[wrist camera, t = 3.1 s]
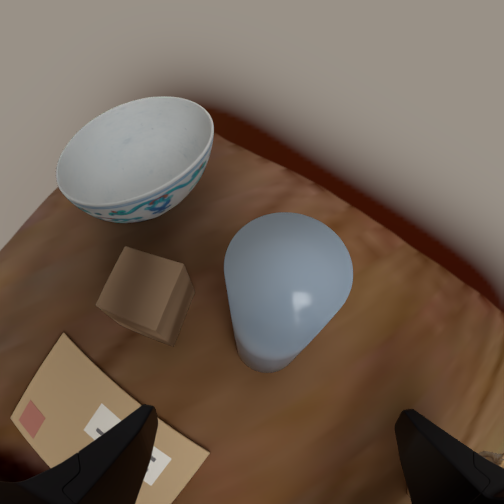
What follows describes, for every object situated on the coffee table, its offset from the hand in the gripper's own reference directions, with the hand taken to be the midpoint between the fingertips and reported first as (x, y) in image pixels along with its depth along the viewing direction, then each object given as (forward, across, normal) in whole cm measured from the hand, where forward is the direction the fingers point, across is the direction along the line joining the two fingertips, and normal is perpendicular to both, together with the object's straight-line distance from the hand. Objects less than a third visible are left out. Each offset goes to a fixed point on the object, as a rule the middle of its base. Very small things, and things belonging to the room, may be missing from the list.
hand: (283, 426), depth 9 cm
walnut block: (+14, +9, +3) cm, 17 cm away
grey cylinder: (+12, 0, +4) cm, 13 cm away
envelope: (+5, +14, +12) cm, 19 cm away
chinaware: (+23, +13, -5) cm, 27 cm away
